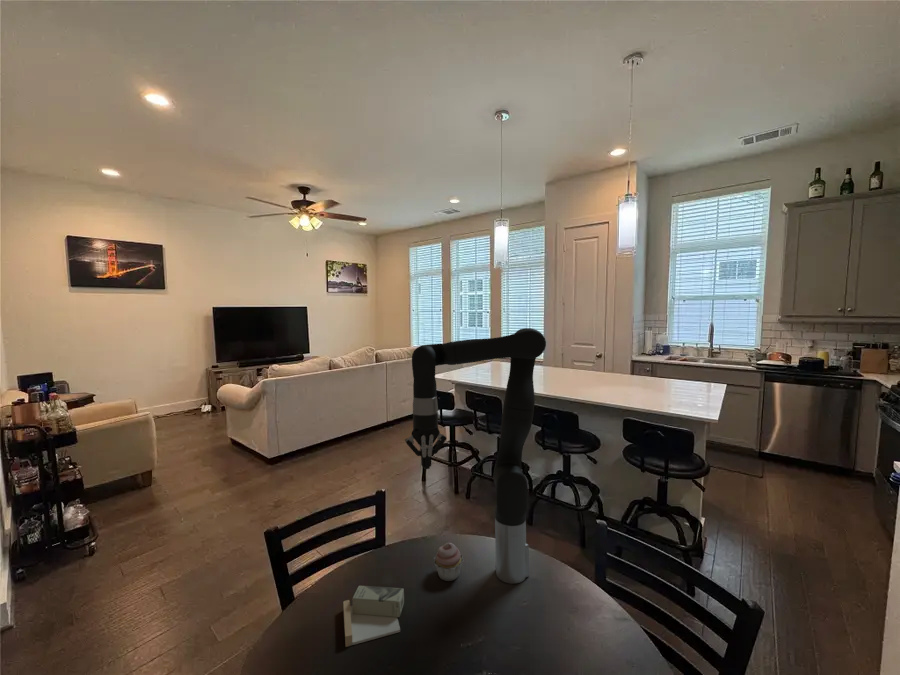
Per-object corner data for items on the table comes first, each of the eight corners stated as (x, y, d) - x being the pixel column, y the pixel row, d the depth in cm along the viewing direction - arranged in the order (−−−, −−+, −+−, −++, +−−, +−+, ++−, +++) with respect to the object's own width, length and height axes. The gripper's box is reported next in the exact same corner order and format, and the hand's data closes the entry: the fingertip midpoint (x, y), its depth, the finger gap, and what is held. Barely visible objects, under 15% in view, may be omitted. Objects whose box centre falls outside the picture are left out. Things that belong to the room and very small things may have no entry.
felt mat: (392, 598, 103) (392, 589, 103) (400, 631, 91) (400, 622, 91) (343, 610, 99) (343, 601, 98) (345, 647, 87) (345, 636, 87)
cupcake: (430, 583, 108) (430, 550, 108) (436, 563, 118) (436, 533, 117) (462, 587, 107) (461, 553, 107) (465, 566, 116) (465, 535, 116)
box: (400, 601, 95) (351, 598, 96) (400, 618, 95) (351, 615, 96) (404, 587, 100) (358, 584, 101) (404, 602, 100) (358, 600, 101)
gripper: (442, 407, 116) (443, 461, 117) (401, 410, 112) (402, 466, 113) (450, 412, 109) (450, 469, 110) (406, 416, 105) (407, 476, 106)
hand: (426, 468), depth 111 cm, fingers closed
